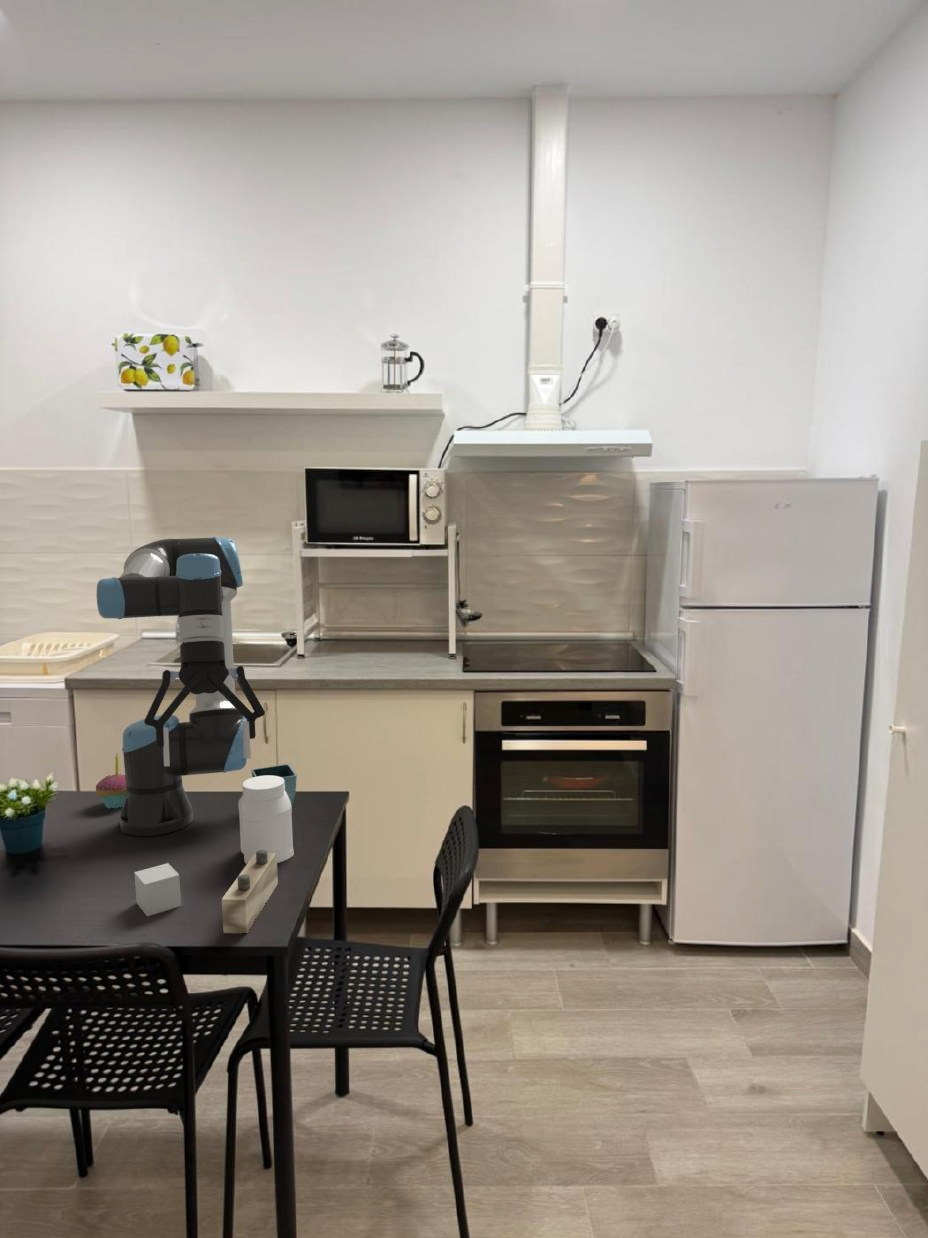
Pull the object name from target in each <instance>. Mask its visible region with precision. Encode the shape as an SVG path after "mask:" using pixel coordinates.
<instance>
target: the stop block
mask: <svg viewBox="0 0 928 1238" xmlns="http://www.w3.org/2000/svg"><path fill="white" fill-rule="evenodd" d="M278 878H279V877H278V863H277V854H276V853H267V851H266V850H258V851H257V852H256V853H255V854H254V855H253V857H252V858H251V859H250V861H249V862H248V864H246V865H245V866H244V868H243V869H242V870H241V871H240V873H239V874H238V876H237V877H236V879H235V880H234V882H233V883H232V884H231V886H230V887H229V889H228V890H227V891H226V892H225V894H224V896H223V897H222V898H221V909H222V910H221V912H222V913H221V914H222V929H223V934H241V933H247V934H248V933H249V931H250V930H251V928H252V926H253V925H254V923H255V922H254V921H256V920H257V919H258V917H259V915H260V913H261V912H262V910H263V909H264V907H265V905H266V904H267V902H268V900H269V899H270V897H271V895H272V894H273V892H274V891H275V889H276V887H277V885H279V879H278ZM265 903H266V904H265ZM260 911H261V912H260ZM255 919H256V920H255ZM249 929H250V930H249Z"/></svg>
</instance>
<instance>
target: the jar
mask: <svg viewBox="0 0 928 1238" xmlns="http://www.w3.org/2000/svg"><path fill="white" fill-rule="evenodd" d="M241 786H242V795H241V797H240V798H239V800H238V806H237V807H238V816H239V835H240V836H239V837H240V852H241V853H242V854H243V859H244V863H245V864H246V865H247V864H248V862H249V861H250V859H251V858H252V857H253V855H254V854H255V853H256V852H257V851H258V850H266V851H267V853H276V854H277V864H279V863H282V862H285V861H287V860H289V859H290V858H292V857H293V856H294V853H295V851H294V845H293V844H294V842H293V840H294V839H293V822H292V821H293V818H292V817H293V816H292V813H293V811H292V810H293V808H292V806H291V802H290V800H289V797H288V795H287V793H286V792H285V781H284V779H283V778H281V777H279V776H272V775H265V776H257V777H250V778H248V779H246V780H244V781H243V783H242V785H241Z"/></svg>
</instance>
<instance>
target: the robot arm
mask: <svg viewBox="0 0 928 1238" xmlns="http://www.w3.org/2000/svg"><path fill="white" fill-rule="evenodd" d="M124 561H125V562H124V565H123V571H122V573H121V575H119V577H116V576H114V577H110V578H101V579H99V581H98V582H97V584H96V604H97V610H98V613H99V616H100V617H102V618H103V619H118V620H122V619H133V618H134V619H135V618H150V617H152V618H153V617H176V616H178V632H179V633H178V634H179V635H178V636H179V640H180V641H182V643H181V644H180V645H179V653H180V654H179V656H180V669H179V671H171V670H169V669H165V670H164V671H162V673H161V674H162V675H161V684H160V686H159V688H158V690H157V692H156V694H155V696H154V699H153V701H152V703H151V705H150V708H149V710H148V712H147V714H146V715H145V718H143V719H140V720H138V721H136V722H133V723H131V724H129V725H128V726H127V727H125V729H124V731H123V732H122V748H121V750H122V751H121V752H122V753H123V765H124V766H123V767H124V775H125V780H126V797H125V800H124V804H123V807H121V812H120V816H119V827H120V828H119V829H120V831H121V832H123V833H124V834H125V835H130V836H135V837H152V836H153V837H154V836H160V835H161V836H162V835H165V834H170V833H173V832H177V831H179V830H181V829H183V828H185V827H187V826H189V825H190V824H191V823H192V822H193V819H194V816H193V815H194V814H193V813H194V812H193V807H192V804H191V803H190V800H189V797H188V795H187V793H186V789H185V788H184V786H183V776H194V775H195V776H196V775H204V774H205V775H207V774H208V775H209V774H217V773H219V774H220V773H227V772H234V771H240V770H241V771H242V770H243V769H244V768H245V766H246V765H247V761H248V759H252V757H251V756H252V755H251V754H252V753H251V740H252V739H255V738H256V736H257V735H256V720H257V719H258V718H261V717H264V716H265V713H266V711H265V709H264V708H263V706H262V704H261V702H260V701H259V699H258V697H257V696H256V694H255V692H254V690H253V689H252V687H251V686H250V683H249V682H248V680H247V678H246V673H245V667H243V666H242V665H238V666H236V667H235V661H234V645H233V644H234V643H233V641H234V639H233V627H232V626H233V624H232V623H233V622H232V620H233V619H232V606H231V604H232V601H233V599H234V598H236V596H237V595H238V590H237V589H238V588H241V587H242V586H243V585H244V582H243V581H244V580H243V575H242V570H241V568H242V567H241V564H240V557H239V554H238V549H237V546H236V543H235V541H234V540H233V539H232V538H229V537H216V536H213V537H197V538H196V537H192V538H191V537H190V538H188V537H187V538H167V539H166V538H165V539H159V540H155V541H152V542H150V543H149V542H148V543H147V544H144V545H142V546H140V547H138V548H136V549H135V550H134V551H132V552H131V553H130V554H129V555H127V558H126V560H124ZM176 679H179V680H180V682H181V683H182V684H183V685H184V686H183V688H182V689H181V690H180V691H179V693H178V694H177V695H176V697H175V698H174V699H173V701H171V703H170V704H169V705H168V707H167V708H166V709H165V710H164V712H163V713H162V714H161V715H157V713H158V711H159V708H160V706H161V704H162V702H163V700H164V698H165V695H166V694H167V691H168V689H169V688H170V687H169V686H170V684H173V683H174V682H175V680H176ZM235 680H236V681H237V684H238V685H239V687H240V689H241V691H242V692H243V694H244V696H245V698H246V699H247V701H248V703H249V705H250V707H251V708H252V710H253V712H252V711H251V710H250V709H249V708H248V707H247V706H246V704H244V702H242V701H241V700H240V699H239V698H238V696H236V683H235V682H236V681H235ZM190 693H192V694H193V695H195V706H194V708H193V709H191V710H190V712H189V714H188V715H189V716H188V717H189V718H188V719H189V721H186V722H180V719H179V718H178V716H177V715H174V713H175V712H176V710H177V709H178V708H179V706H181V704H182V703H183V702H184V701H185V699H186V698H187V697H188V696H189V694H190Z"/></svg>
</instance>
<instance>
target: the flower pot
mask: <svg viewBox="0 0 928 1238" xmlns="http://www.w3.org/2000/svg"><path fill="white" fill-rule="evenodd" d="M265 775H272V776H279V777H281V778H283V779H284V781H285V792H286V793H287V795H288V797H289V800H290V802H291V807H292V806H293V803H294V801H295V798H296V793H297V791H296V790H297V778H298V777H297V774H296V772H295V771H294V769H293V768H292V766H291V765H290V764H288V763H286V764H279V765H272V766H266V767H259V768H253V769H251V776H252V777H251V778H253V777H257V776H265Z"/></svg>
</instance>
